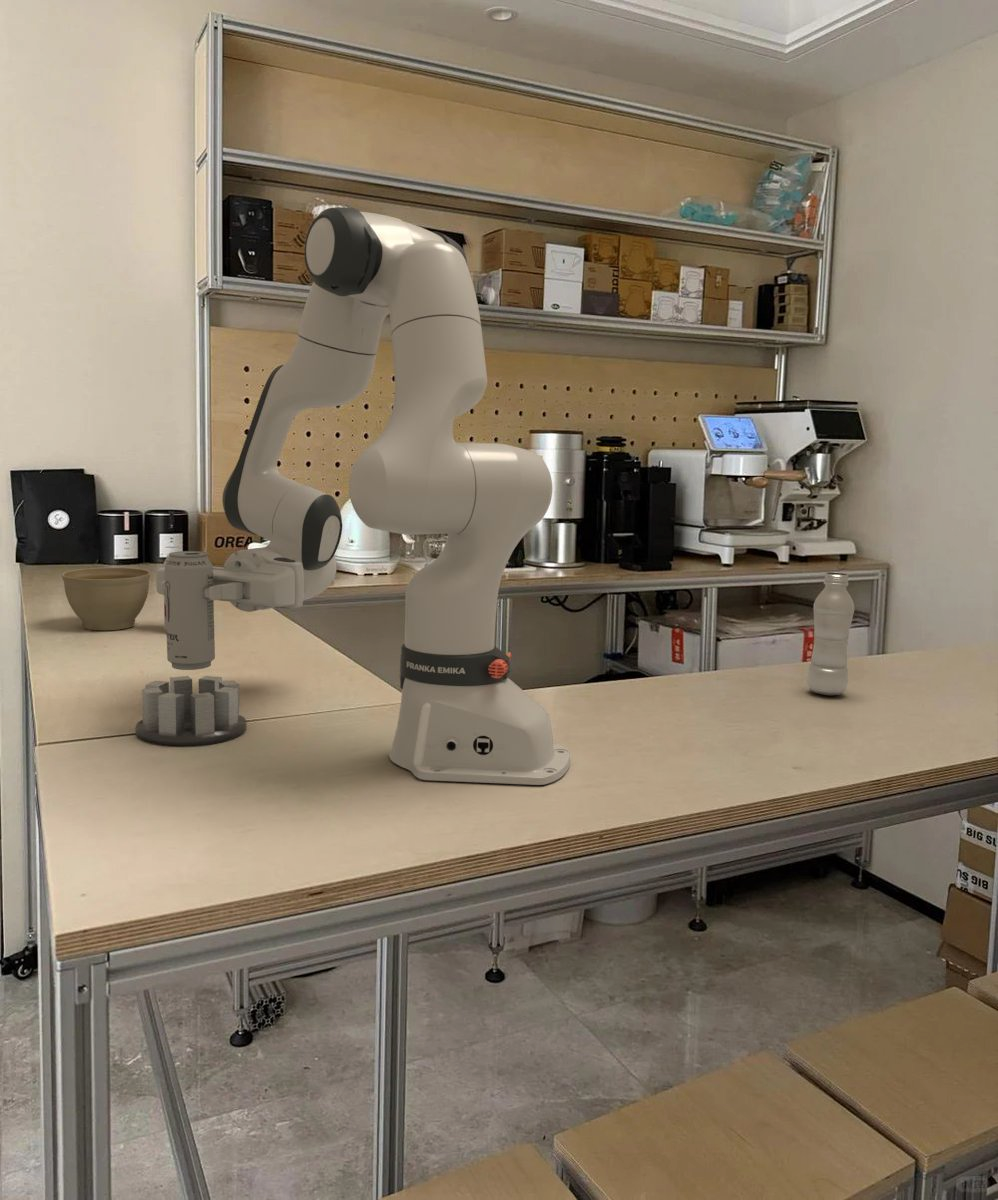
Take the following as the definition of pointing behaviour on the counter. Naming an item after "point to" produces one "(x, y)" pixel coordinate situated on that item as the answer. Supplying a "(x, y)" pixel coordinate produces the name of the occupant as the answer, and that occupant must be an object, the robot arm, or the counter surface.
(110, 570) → the planter bowl
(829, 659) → the plastic bottle
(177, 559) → the energy drink can
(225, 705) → the castellated collar
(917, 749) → the counter surface
